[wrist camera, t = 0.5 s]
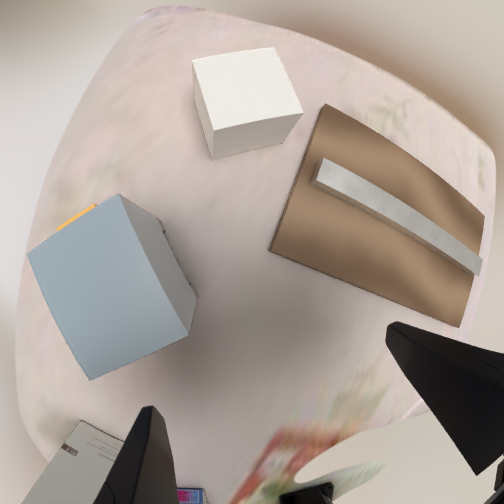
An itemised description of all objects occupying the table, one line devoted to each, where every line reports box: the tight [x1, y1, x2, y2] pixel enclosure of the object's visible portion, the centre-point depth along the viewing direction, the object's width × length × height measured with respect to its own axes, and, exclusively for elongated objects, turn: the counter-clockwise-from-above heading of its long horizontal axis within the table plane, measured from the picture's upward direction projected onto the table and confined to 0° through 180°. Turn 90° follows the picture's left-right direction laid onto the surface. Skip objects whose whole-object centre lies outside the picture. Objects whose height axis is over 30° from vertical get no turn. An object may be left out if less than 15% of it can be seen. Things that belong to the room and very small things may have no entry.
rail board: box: [269, 104, 485, 328], centre depth 23 cm, size 14×24×2 cm, turn 68°
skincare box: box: [21, 421, 124, 504], centre depth 13 cm, size 8×6×15 cm
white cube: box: [192, 47, 304, 160], centre depth 19 cm, size 6×6×6 cm
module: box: [27, 193, 198, 381], centre depth 16 cm, size 7×6×10 cm
